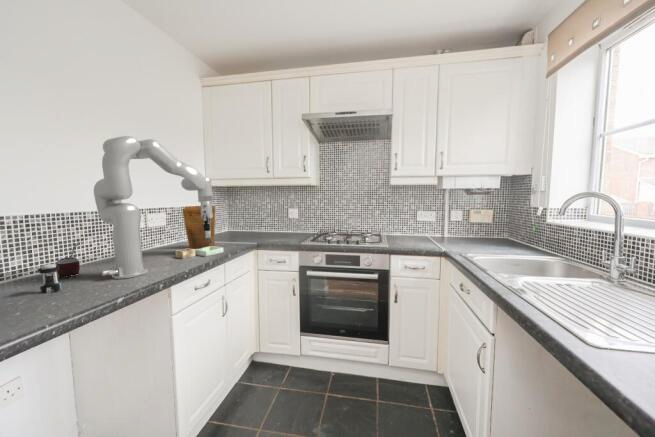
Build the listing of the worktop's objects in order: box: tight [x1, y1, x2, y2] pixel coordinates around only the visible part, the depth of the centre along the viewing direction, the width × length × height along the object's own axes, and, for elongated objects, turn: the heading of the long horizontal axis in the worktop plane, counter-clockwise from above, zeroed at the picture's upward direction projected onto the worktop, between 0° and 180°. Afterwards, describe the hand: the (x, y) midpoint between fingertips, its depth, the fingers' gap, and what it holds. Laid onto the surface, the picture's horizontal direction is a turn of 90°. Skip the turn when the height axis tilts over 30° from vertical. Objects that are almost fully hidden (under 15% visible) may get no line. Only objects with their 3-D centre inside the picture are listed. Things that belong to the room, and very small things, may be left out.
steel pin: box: [205, 222, 211, 238], centre depth 150 cm, size 3×3×9 cm
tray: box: [195, 246, 225, 258], centre depth 151 cm, size 12×12×3 cm
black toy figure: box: [35, 263, 62, 294], centre depth 93 cm, size 7×5×10 cm
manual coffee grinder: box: [56, 242, 81, 279], centre depth 111 cm, size 8×8×15 cm
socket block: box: [175, 247, 196, 260], centre depth 143 cm, size 7×7×4 cm
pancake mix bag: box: [182, 205, 217, 249], centre depth 166 cm, size 7×19×28 cm, turn 109°
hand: (207, 230), depth 150 cm, fingers closed on steel pin, 3 cm apart
